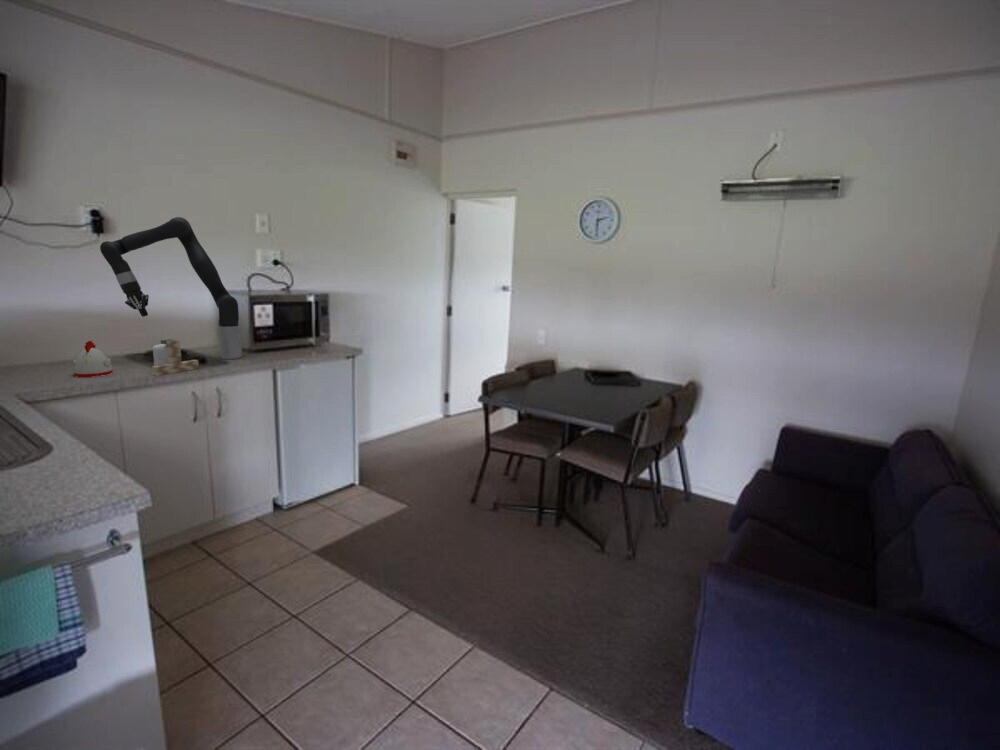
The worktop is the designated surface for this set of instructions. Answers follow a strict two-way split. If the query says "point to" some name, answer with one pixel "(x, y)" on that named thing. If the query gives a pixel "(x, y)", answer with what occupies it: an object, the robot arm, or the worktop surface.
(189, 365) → the retention stand
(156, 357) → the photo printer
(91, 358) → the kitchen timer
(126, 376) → the worktop surface
